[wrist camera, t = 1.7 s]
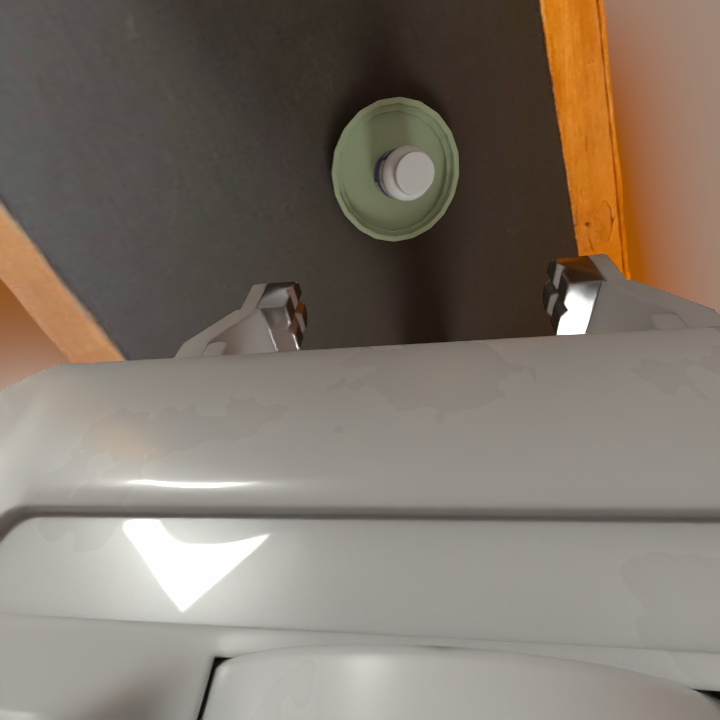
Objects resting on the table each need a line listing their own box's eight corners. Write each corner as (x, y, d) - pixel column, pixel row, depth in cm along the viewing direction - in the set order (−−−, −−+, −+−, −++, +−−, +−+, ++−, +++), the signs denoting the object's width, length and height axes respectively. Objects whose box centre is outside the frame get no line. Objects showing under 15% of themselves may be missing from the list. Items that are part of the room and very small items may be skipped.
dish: (340, 87, 43) (342, 83, 42) (467, 116, 46) (473, 113, 45) (323, 229, 49) (324, 231, 48) (436, 246, 52) (441, 249, 51)
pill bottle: (415, 148, 47) (443, 141, 38) (414, 197, 49) (440, 201, 40) (371, 150, 46) (388, 143, 37) (372, 199, 49) (389, 203, 40)
